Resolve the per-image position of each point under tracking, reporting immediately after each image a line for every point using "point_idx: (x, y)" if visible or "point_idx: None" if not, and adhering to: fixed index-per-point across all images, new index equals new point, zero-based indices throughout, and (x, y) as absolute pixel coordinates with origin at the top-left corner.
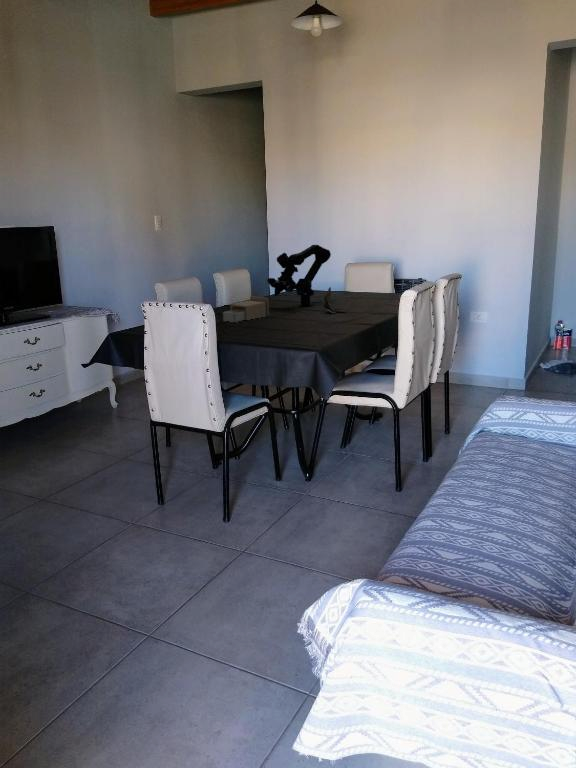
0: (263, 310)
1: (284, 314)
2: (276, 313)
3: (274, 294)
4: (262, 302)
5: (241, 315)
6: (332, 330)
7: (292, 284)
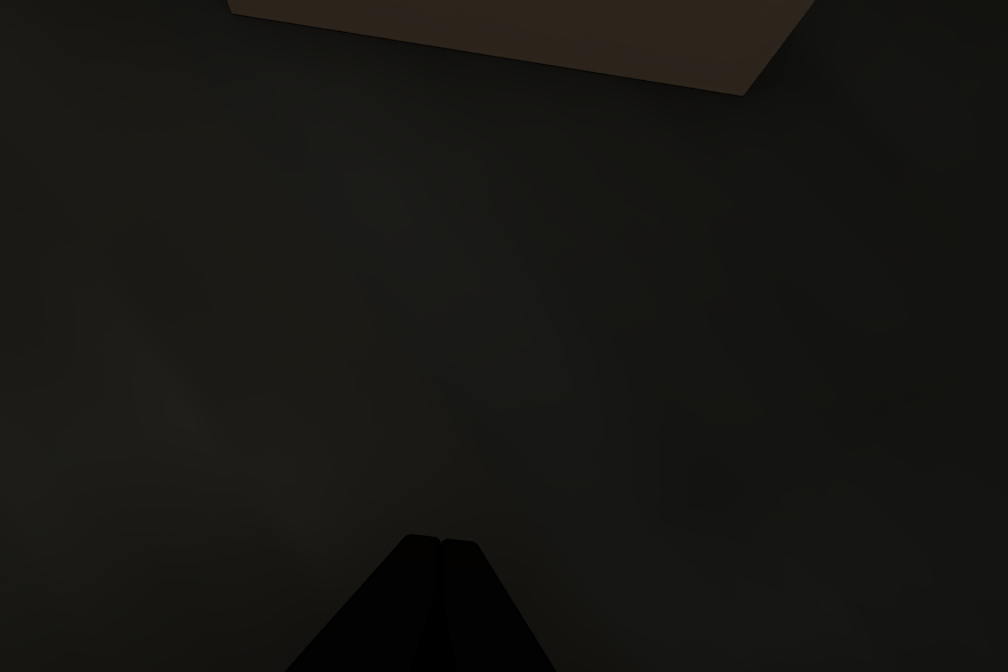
0: None
1: (17, 350)
2: (292, 385)
3: (475, 549)
4: None
5: None
6: None
7: None
